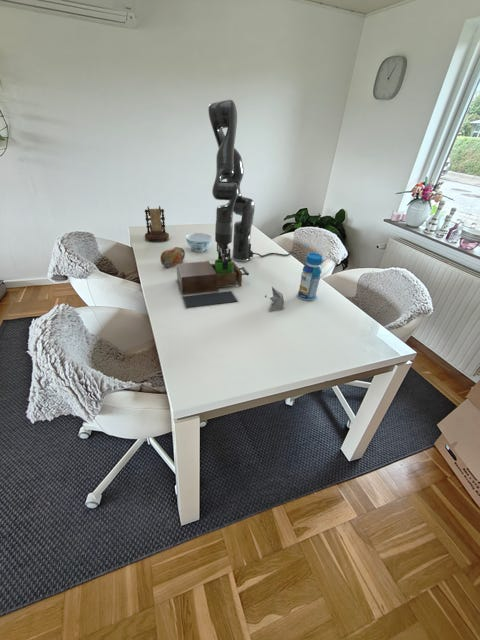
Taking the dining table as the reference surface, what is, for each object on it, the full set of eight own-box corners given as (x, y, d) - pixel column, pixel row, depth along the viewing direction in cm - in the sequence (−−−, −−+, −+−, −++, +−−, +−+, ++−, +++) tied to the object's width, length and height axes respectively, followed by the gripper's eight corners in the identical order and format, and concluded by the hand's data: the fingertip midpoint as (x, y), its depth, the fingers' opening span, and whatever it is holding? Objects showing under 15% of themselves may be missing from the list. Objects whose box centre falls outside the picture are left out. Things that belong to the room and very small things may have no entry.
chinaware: (216, 249, 182) (216, 236, 177) (201, 256, 171) (201, 243, 167) (197, 243, 188) (197, 231, 184) (181, 250, 177) (180, 237, 173)
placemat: (230, 291, 138) (230, 291, 138) (236, 301, 131) (237, 300, 131) (183, 297, 132) (183, 296, 132) (186, 307, 125) (186, 306, 125)
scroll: (146, 243, 183) (142, 209, 171) (143, 235, 194) (139, 203, 183) (171, 241, 187) (168, 208, 176) (166, 234, 199) (164, 202, 188)
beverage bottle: (315, 302, 135) (325, 260, 124) (297, 299, 136) (304, 257, 125) (315, 293, 142) (324, 253, 131) (297, 291, 143) (305, 250, 132)
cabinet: (208, 277, 150) (208, 261, 145) (216, 291, 138) (216, 274, 134) (177, 280, 145) (176, 263, 140) (182, 294, 134) (181, 277, 129)
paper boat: (287, 311, 125) (266, 306, 123) (280, 317, 131) (260, 312, 128) (287, 286, 130) (268, 281, 128) (281, 293, 136) (262, 288, 133)
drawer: (241, 273, 154) (242, 260, 150) (250, 285, 143) (251, 272, 139) (204, 276, 148) (204, 263, 144) (211, 289, 138) (211, 275, 134)
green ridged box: (229, 276, 147) (230, 257, 142) (231, 280, 144) (232, 260, 138) (214, 277, 145) (214, 258, 139) (216, 281, 142) (217, 262, 136)
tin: (164, 269, 154) (162, 253, 150) (160, 267, 156) (158, 252, 151) (185, 261, 164) (184, 246, 160) (181, 259, 166) (180, 244, 161)
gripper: (237, 236, 127) (234, 271, 136) (227, 225, 138) (226, 259, 147) (219, 236, 125) (218, 272, 134) (211, 226, 136) (211, 260, 145)
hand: (222, 265), depth 140 cm, fingers open, 8 cm apart
